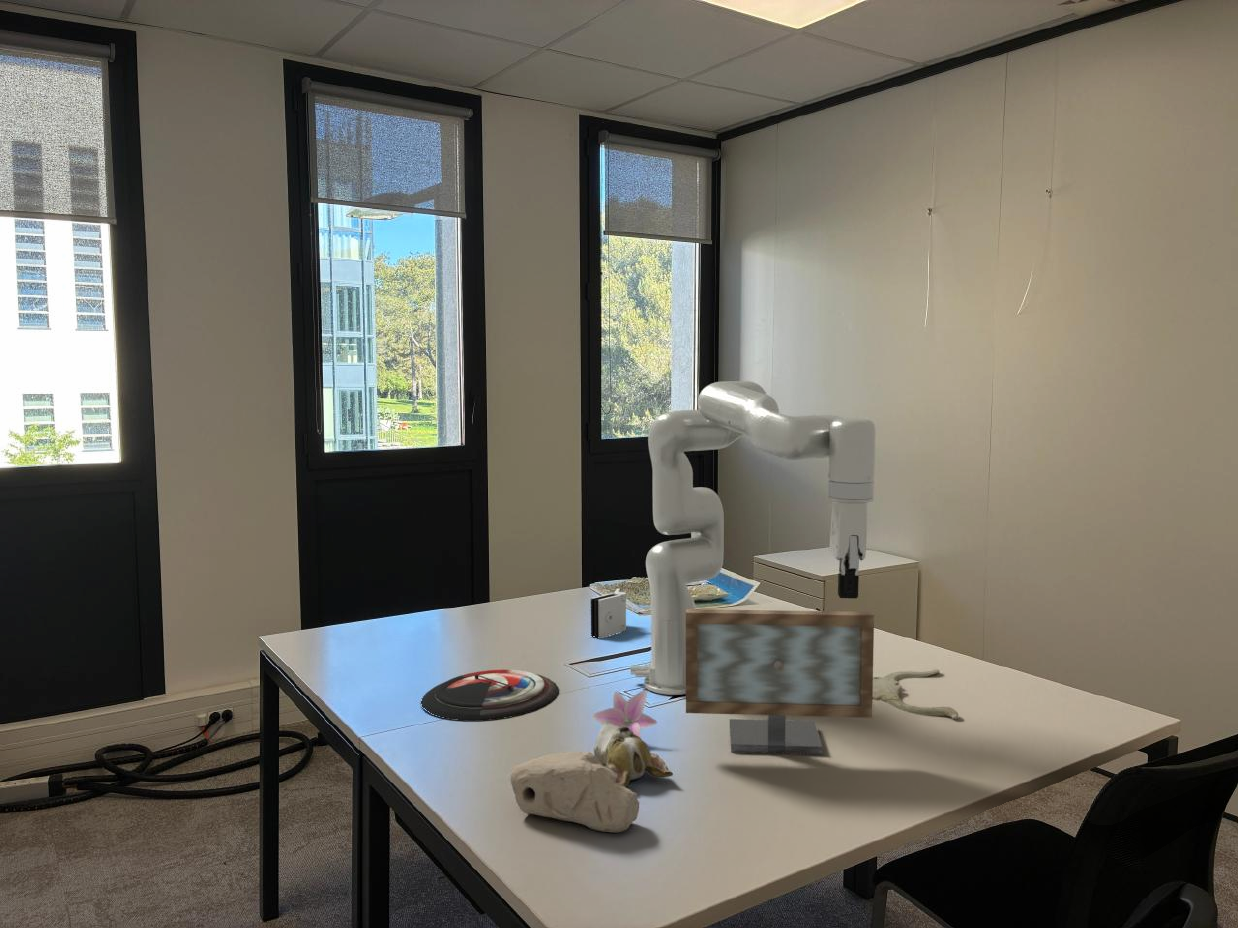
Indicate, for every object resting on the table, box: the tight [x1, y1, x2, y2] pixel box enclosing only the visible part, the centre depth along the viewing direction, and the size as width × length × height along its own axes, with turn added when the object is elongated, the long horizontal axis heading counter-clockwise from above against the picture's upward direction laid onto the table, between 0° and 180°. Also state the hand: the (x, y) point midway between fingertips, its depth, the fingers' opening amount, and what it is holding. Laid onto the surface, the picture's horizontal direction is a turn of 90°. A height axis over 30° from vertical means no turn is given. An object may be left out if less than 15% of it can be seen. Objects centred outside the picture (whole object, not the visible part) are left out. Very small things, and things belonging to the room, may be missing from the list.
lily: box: [592, 689, 658, 738], centre depth 172 cm, size 11×11×9 cm
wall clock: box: [420, 669, 559, 721], centre depth 197 cm, size 27×5×30 cm
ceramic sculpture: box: [593, 721, 674, 788], centre depth 157 cm, size 11×9×15 cm
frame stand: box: [729, 715, 823, 756], centre depth 171 cm, size 16×12×19 cm
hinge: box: [590, 588, 627, 639], centre depth 243 cm, size 14×5×10 cm, turn 147°
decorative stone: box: [509, 750, 640, 833], centre depth 142 cm, size 20×8×10 cm, turn 65°
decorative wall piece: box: [872, 668, 959, 720], centre depth 198 cm, size 30×3×30 cm
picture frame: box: [685, 608, 875, 719], centre depth 163 cm, size 32×3×18 cm, turn 85°
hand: (847, 596), depth 161 cm, fingers closed
